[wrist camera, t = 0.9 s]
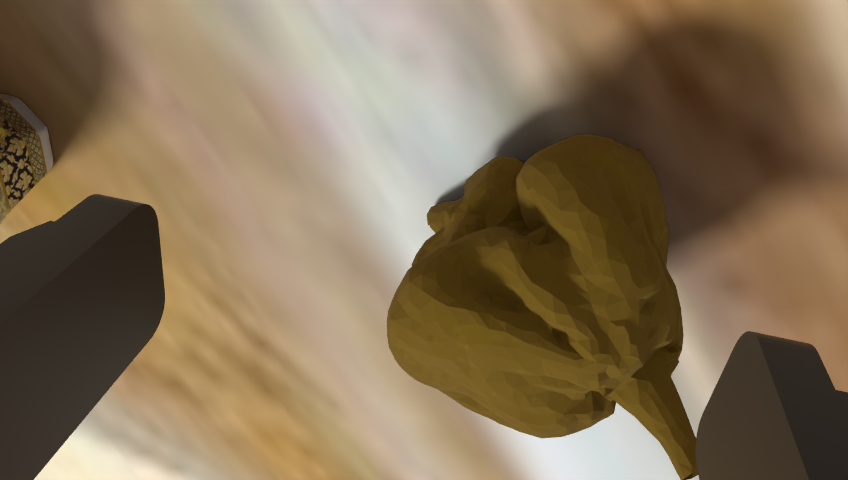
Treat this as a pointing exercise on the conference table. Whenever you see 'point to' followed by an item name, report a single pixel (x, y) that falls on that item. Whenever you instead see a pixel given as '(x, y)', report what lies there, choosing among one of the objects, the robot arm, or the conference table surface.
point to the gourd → (550, 297)
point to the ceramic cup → (20, 152)
